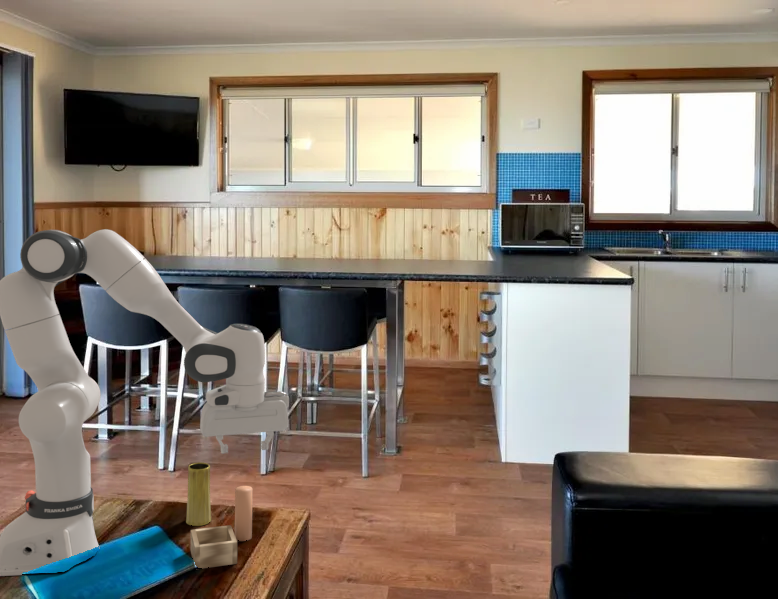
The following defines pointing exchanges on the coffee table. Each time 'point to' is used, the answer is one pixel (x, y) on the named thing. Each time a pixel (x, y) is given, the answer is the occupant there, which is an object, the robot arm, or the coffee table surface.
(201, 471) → the vase
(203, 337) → the robot arm
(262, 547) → the coffee table surface
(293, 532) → the coffee table surface
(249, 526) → the peg
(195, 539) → the socket block
